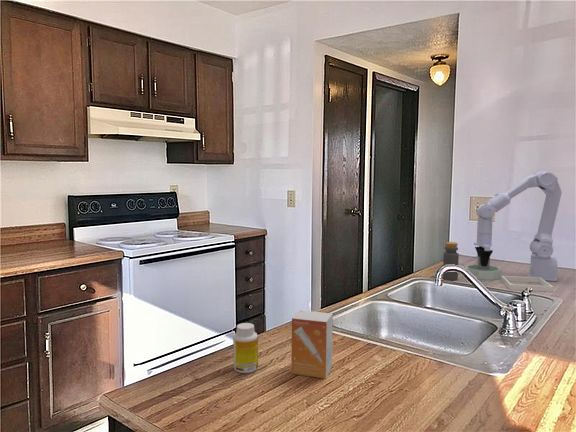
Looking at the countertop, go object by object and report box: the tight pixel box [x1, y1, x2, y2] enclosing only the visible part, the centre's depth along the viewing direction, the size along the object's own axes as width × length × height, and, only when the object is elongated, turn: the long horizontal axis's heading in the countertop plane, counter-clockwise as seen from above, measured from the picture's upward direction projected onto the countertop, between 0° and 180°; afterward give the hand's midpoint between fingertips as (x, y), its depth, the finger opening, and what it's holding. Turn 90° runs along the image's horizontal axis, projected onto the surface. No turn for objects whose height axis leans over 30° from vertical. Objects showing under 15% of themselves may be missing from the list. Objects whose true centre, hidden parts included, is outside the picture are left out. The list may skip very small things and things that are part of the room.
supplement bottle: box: [232, 322, 259, 374], centre depth 106 cm, size 6×6×10 cm
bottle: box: [442, 241, 459, 282], centre depth 190 cm, size 6×6×15 cm
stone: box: [475, 255, 491, 270], centre depth 195 cm, size 4×4×5 cm
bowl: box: [464, 263, 502, 281], centre depth 196 cm, size 13×13×4 cm
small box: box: [290, 309, 334, 380], centre depth 105 cm, size 8×6×13 cm
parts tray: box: [500, 275, 554, 293], centre depth 180 cm, size 15×15×2 cm
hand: (483, 265), depth 195 cm, fingers closed on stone, 4 cm apart
